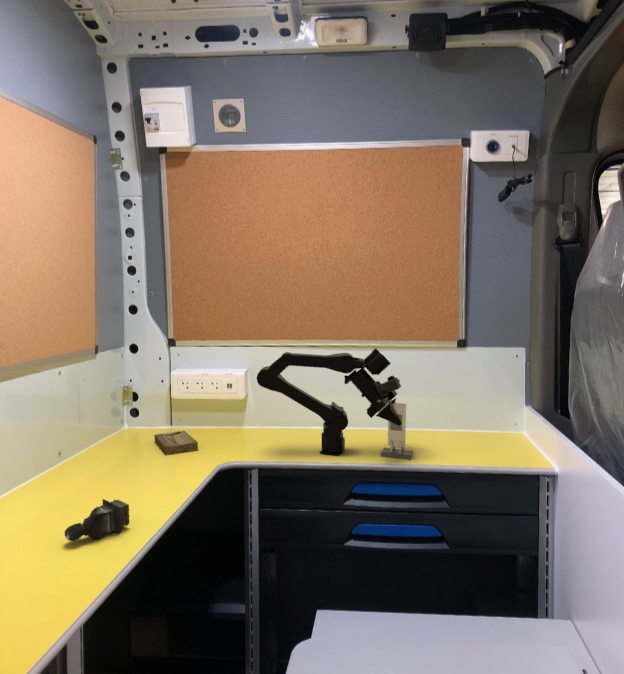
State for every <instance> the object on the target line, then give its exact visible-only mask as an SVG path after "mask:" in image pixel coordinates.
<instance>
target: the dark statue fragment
mask: <svg viewBox="0 0 624 674" xmlns="http://www.w3.org/2000/svg"><path fill="white" fill-rule="evenodd" d="M101 502H102V505H99V506H96V507H95V508H94V509H92V510H91V512H90V514H89V516H87V517H86V518H84V519H83V521H82V523H81V522H78V523H74V524H72V525H69V526H68V527H67V528H66V529H65V530H64V537H65V538H66V540H67V541H70V542H76V541H78V540H80V539H81V538H82V537H83V536H84V537H89V538H91V539H93V540H94V541H100V540H101V539H102V538H103V537H105V536H106V535H108V534H109V533H111V532H115V533H117V534H118V535H121V534H122V533H121V532H122V528H123V527H125V526H126V527H127V526H128V525H130V505H129V503H126V502H124V501H122V500H120V499H113V500H112V501H109V500H106V499H102V501H101Z"/></svg>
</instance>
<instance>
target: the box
mask: <svg viewBox="0 0 624 674" xmlns="http://www.w3.org/2000/svg"><path fill="white" fill-rule="evenodd" d="M154 443H155V444H156V445H157V446H158V449H159V450H160V451H162V452H163V454H164V455H166V456H171V455H177V454H183V453H191V452H196V451H199V448H198V446H199V443H198V441H197V440H196V439H195V438H194V437H192V436H191V435H190V434H189V433H188V432H186V431H185V430H177V431H171V432H163V433H157V434H154Z"/></svg>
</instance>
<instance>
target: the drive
mask: <svg viewBox="0 0 624 674" xmlns="http://www.w3.org/2000/svg"><path fill="white" fill-rule="evenodd" d="M392 410H393V411H394V413H395V414H396V415H397V417H398V418H399V420H400V421H401V425H399V426H398V425H396V424H394V423H392V422H390V421H388V420H387V446H389V447H390V441H392V447H393V446H395V447H398V448H399V442H401V447H404V448H405V447H406V435H407V434H406V427H407V425H406V424H407V416H406V415H407V403H401V402H395V403H392Z"/></svg>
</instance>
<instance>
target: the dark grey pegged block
mask: <svg viewBox="0 0 624 674" xmlns="http://www.w3.org/2000/svg"><path fill="white" fill-rule="evenodd" d="M413 455H414V450H412V449H411V450H410V449H405V446H404V447H401V442H399V447H398V448H396V446H392V441H390V446H389V447H383V449H382V450H381V451H380V457H382V458H387V459H388V458H389V459H390V458H391V459H398V460H405V461H406V460H409V461H410V460H411V459H412V457H413Z"/></svg>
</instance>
